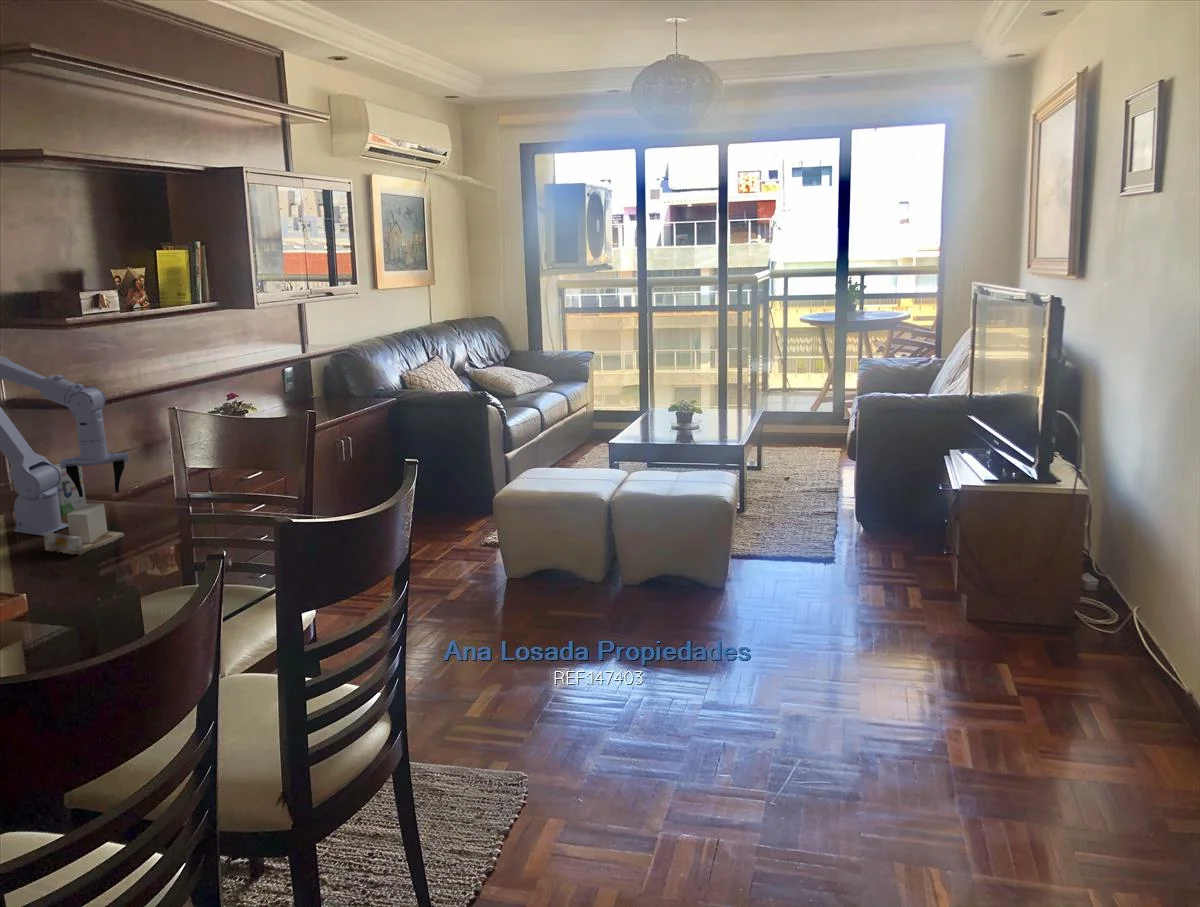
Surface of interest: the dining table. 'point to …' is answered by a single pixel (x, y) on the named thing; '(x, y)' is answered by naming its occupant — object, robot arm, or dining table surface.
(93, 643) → the dining table surface
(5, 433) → the robot arm
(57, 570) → the dining table surface
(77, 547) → the cream tray
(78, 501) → the ink box
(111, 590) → the dining table surface
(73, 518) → the carton
